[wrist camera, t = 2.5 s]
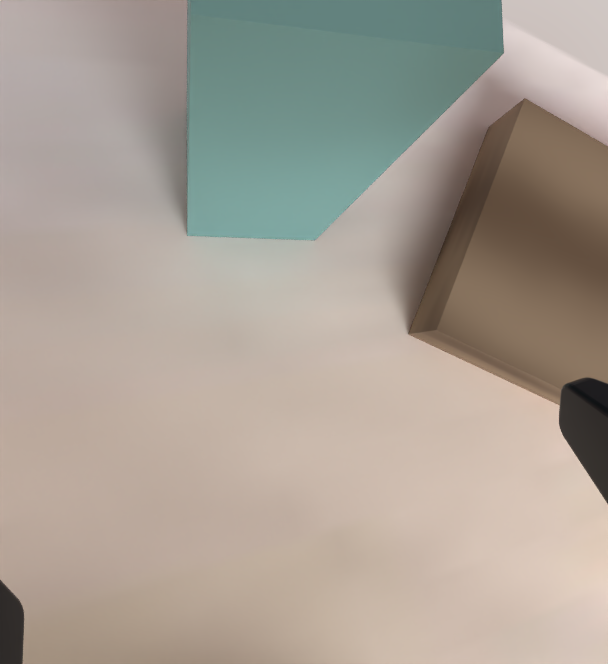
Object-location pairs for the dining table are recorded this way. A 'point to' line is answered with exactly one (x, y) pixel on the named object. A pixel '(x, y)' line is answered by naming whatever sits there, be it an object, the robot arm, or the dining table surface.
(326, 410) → the dining table surface
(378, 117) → the pillar
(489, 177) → the slab
